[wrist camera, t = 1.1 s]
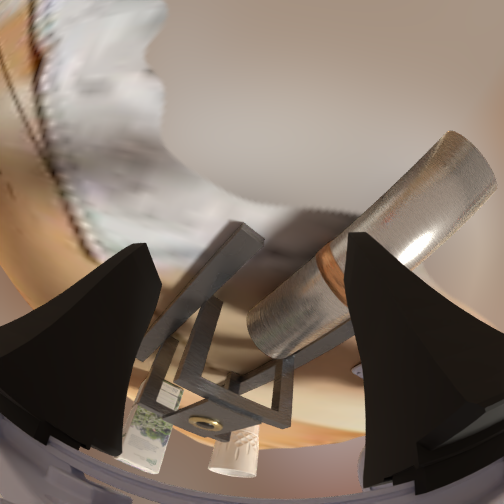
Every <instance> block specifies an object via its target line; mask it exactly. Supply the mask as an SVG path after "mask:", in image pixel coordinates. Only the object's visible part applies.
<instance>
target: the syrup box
mask: <svg viewBox="0 0 504 504" xmlns="http://www.w3.org/2000/svg"><path fill="white" fill-rule="evenodd" d="M146 379H147V378H146ZM146 379H145V380H144V381H143V382H142V383H141V385H140V388H139V390H138V393H137V396H136V398H135V401H134V403H133V406H132V408H131V411H130V413H129V416H128V418H127V421H126V423H125V425H124V428H123V432H122V454H121V455H119V456H117V457H114V456H113V458H114V459H116V460H118V461H121V462H123V463H125V464H127V465H130V466H132V467H135V468H137V469H139V470H142V471H145V472H148V473H150V474H157V473H158V472H159V470H160V467H161V464H162V460H163V457H164V453H165V450H166V447H167V443H168V440H169V437H170V433H171V430H172V427H173V424H171V423H168V422H166V421H164V420H162V419H161V418H162V417H160V416H158V415H156V414H154V413H152V412H150V411H148V410H146V409H145V408H143V407H141V406H139V405H137V404H136V403H137V400H138V398H139V395H140V393H141V391H142V388H143V386H144V383H145V381H146ZM183 392H184V390H183V389H181V388H179V387H177V386H175V385H173V384H171V383H169V382H167V381H165V380H164V381H163V384H162V386H161V389H160V392H159V394H158V397H157V400H156V401H157V402H159V403H160V404H162V405H164V406H166V407H168V408H171V409H173V410H175V411H176V410H178V408H179V404H180V401H181V398H182V395H183Z"/></svg>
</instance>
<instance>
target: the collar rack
mask: <svg viewBox="0 0 504 504" xmlns="http://www.w3.org/2000/svg"><path fill="white" fill-rule="evenodd" d="M264 240H265V239H264V238H263V237H262V236H260V235H259V234H258V233H257V232H255V231H254V230H253V229H251V228H250V227H249V226H248V225H246V224H245V223H243V224H242V225H241V226H240V227H239V228H238V229H237V230H236V231H235V232H234V234H233V235H232V236H231V237H230V238H229V239H228V240H227V241H226V242H225V243H224V244H223V246H222V247H221V248H220V249H219V250H218V251H217V252H216V253H215V254H214V256H213V257H212V258H211V259H210V260H209V261H208V262H207V263H206V264H205V266H204V267H203V268H202V269H201V270H200V271H199V272H198V273H197V275H196V276H195V277H194V278H193V279H192V280H191V281H190V282H189V284H188V285H187V286H186V287H185V288H184V289H183V290H182V291H181V293H180V294H179V295H178V296H177V297H176V298H175V299H174V301H173V302H172V303H171V304H170V305H169V306H168V308H167V309H166V310H165V311H164V312H163V313H162V314H161V316H160V317H159V318H158V319H157V320H156V321H155V323H154V324H153V325H152V326H151V327H150V328H149V330H148V331H147V332H146V333H145V335H144V337H143V340H142V342H141V345H140V347H139V350H138V352H137V355H136V358H137V359H138V360H140V361H142V362H143V361H144V360H145V359H147V358H148V357H149V356H150V355H151V354H152V353H153V352H154V351H155V350H156V349H157V348H158V347H159V346H160V345H161V346H160V348H159V351H158V353H157V355H156V358H155V360H154V362H153V365H152V367H151V369H150V372H149V374H148V376H147V379H146V381H145V383H144V386H143V388H142V391H141V393H140V395H139V398H138V400H137V403H136V404H137V405H139V406H141V407H143V408H145V409H146V410H148V411H150V412H152V413H154V414H156V415H158V416H160V417H162V418H161V419H162V420H164V421H166V422H168V423H171V424H173V425H175V426H177V427H180V428H182V429H184V430H187V431H189V432H192V433H194V434H197V435H199V436H202V437H204V438H205V437H210V438H213V439H215V440H218V441H221V442H224V443H225V442H229V441H230V436H231V432H232V431H236V430H240V429H244V428H248V427H251V426H255V425H258V424H261V423H262V422H263V423H266V424H269V425H272V426H274V427H277V428H280V429H285V428H288V427H291V415H292V398H293V377H294V369H296V368H298V367H300V366H302V365H304V364H306V363H307V362H309V361H311V360H313V359H315V358H317V357H318V356H320V355H322V354H324V353H325V352H327V351H329V350H331V349H332V348H334V347H336V346H337V345H339V344H341V343H342V342H344V341H346V340H347V339H349V338H351V337H352V336H354V335H355V333H354V329H353V326H352V322H351V318H348V319H347V320H345V321H344V322H342V323H341V324H339V325H338V326H336V327H335V328H333V329H332V330H330V331H329V332H327V333H325V334H324V335H322V336H321V337H319V338H318V339H316V340H314V341H313V342H311V343H309V344H308V345H306V346H305V347H303V348H301V349H300V350H298V351H296V352H294V353H293V354H291V355H289V356H288V357H286V358H283V359H273V360H271V361H270V362H268V363H266V364H264V365H262V366H261V367H259V368H257V369H255V370H253V371H251V372H249V373H247V374H245V375H244V376H240V375H238V374H236V373H234V372H230V373H228V374H227V378H226V382H225V385H224V386H222V387H221V386H219V385H217V384H215V383H213V382H211V381H209V380H207V379H205V378H203V377H201V375H202V372H203V368H204V365H205V361H206V358H207V355H208V351H209V348H210V345H211V341H212V338H213V335H214V331H215V328H216V325H217V321H218V318H219V315H220V311H221V308H222V305H223V302H222V301H221V300H219V299H218V298H216V297H215V296H213V294H214V293H215V292H216V291H217V290H218V289H219V288H221V287H222V286H223V285H224V284H225V283H226V282H227V281H228V280H229V279H230V278H231V277H232V276H233V275H234V274H235V273H236V272H237V271H238V270H239V269H240V268H241V267H242V266H243V265H244V264H245V263H246V262H247V261H248V260H250V259H251V258H252V257H253V256H254V255H255V254H256V253H257V252H258V251H259V250H260V249H261V248H262V247H263V246H264ZM200 307H201V308H200ZM199 308H200V310H199V313H198V316H197V318H196V321H195V324H194V326H193V329H192V331H191V334H190V337H189V339H188V342H187V345H186V348H185V350H184V353H183V356H182V358H181V361H180V364H179V367H178V369H177V372H176V375H175V378H174V381H173V382H174V383H176V384H177V385H179V386H181V387H183V388H185V389H187V390H189V391H191V392H193V393H195V394H197V395H199V396H201V397H203V398H205V399H203V400H201V401H199V402H196V403H194V404H191V405H189V406H187V407H184V408H182V409H179V410H176V411H175V410H173V409H171V408H168V407H166V406H164V405H162V404H160V403H159V402H157V401H156V400H157V397H158V394H159V392H160V389H161V386H162V384H163V381H164V378H165V376H166V373H167V370H168V368H169V365H170V363H171V360H172V358H173V355H174V352H175V350H176V347H177V345H178V342H179V341H178V340H176V339H174V338H173V337H171V335H172V334H173V333H174V332H175V331H176V330H177V329H178V328H179V327H180V326H181V325H182V324H183V323H184V322H185V321H186V320H187V319H188V318H189V317H190V316H191V315H192V314H193V313H195V312H196V311H197V310H198V309H199ZM272 380H274V387H273V397H272V406H271V409H270V408H267V407H265V406H263V405H260V404H258V403H256V402H253V401H251V400H249V399H246V398H244V397H242V396H240V395H241V394H243V393H246V392H248V391H250V390H253V389H255V388H257V387H259V386H261V385H263V384H266V383H268V382H270V381H272Z"/></svg>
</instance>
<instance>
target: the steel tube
mask: <svg viewBox="0 0 504 504" xmlns="http://www.w3.org/2000/svg"><path fill="white" fill-rule="evenodd" d="M496 190H497V182H496V179H495V176H494V173H493V172H492V169H491V168H490V166H489V164H488V163H487V161H486V159H485V158H484V157H483V155H482V154H481V153H480V152H479V150H478V149H477V148H476V147H475V146H474V145H473V144H472V143H471V142H470V141H468V140H467V139H466V138H465V137H463V136H462V135H460V134H459V133H457V132H455V131H448V132H446V133H445V135H443V137H442V138H441V139H440V140H439V141H438V142H437V143H436V144H435V145H434V146H433V147H432V148H431V149H430V150H429V151H428V152H427V153H426V154H425V155H424V156H423V157H422V158H421V159H420V160H419V161H418V162H417V163H416V164H415V165H414V166H413V167H412V168H411V169H410V170H409V171H408V172H407V173H406V174H405V175H403V177H401V178H400V179H399V180H398V181H397V182H396V183H395V184H394V185H393V186H392V187H391V188H390V189H389V190H388V191H387V192H386V193H385V194H384V195H383V196H381V197H380V198H379V199H378V200H377V201H376V202H375V203H374V204H373V205H372V206H371V207H370V208H368V209H367V210H366V211H365V212H364V213H363V214H362V215H361V216H360V217H359V218H358V219H356V220H355V221H354V222H353V223H352V224H351V225H350V226H349V227H348V228H346V229H345V230H344V231H343V232H342V233H341V234H340V235H339V236H337V237H336V238H335V239H334V240H333V241H330V242H328V243H327V244H326V245H325V246H324V247H323V248H322V249H320V250H319V251H318V252H317V253H316V256H314V257H313V258H312V259H311V260H310V261H309V262H307V263H306V264H305V265H304V266H303V267H302V268H300V269H299V270H298V271H297V272H296V273H294V274H293V275H292V276H291V277H290V278H289V279H287V280H286V281H285V282H284V283H283V284H281V285H280V286H279V287H278V288H276V289H275V290H274V291H273V292H272V293H270V294H269V295H268V296H267V297H265V298H264V299H263V300H262V301H260V302H259V303H258V304H257V305H256V306H254V307H253V308H252V309H251V310H250V311H249V312H248V315H247V328H248V332H249V334H250V336H251V338H252V340H253V342H254V343H255V345H256V346H257V347H258V348H259V349H260V350H261V351H262V352H263V353H265V354H266V355H268V356H269V357H272V358H275V359H283V358H286V357H288V356H289V355H291V354H293V353H294V352H296V351H298V350H300V349H301V348H303V347H305V346H306V345H308V344H309V343H311V342H313V341H314V340H316V339H318V338H319V337H321V336H322V335H324V334H325V333H327V332H329V331H330V330H332V329H333V328H335V327H336V326H338V325H339V324H341V323H342V322H344V321H345V320H347V319H348V318H350V314H349V310H348V306H347V301H346V294H345V287H344V280H343V279H344V271H345V262H346V252H347V242H348V232H367V233H368V234H369V235H370V236H372V237H373V238H374V239H375V240H376V241H377V242H379V243H380V244H381V245H382V246H383V247H384V248H385V249H386V250H388V251H389V252H390V253H391V254H392V255H393V256H394V257H395V258H397V259H398V260H399V261H400V262H401V263H402V264H403V265H405V266H406V267H407V268H408V269H409V270H410V271H412V270H414V269H415V268H416V267H417V266H419V265H420V264H421V263H422V262H423V261H424V260H426V259H427V258H428V257H429V256H430V255H431V254H432V253H434V252H435V251H436V250H437V249H438V248H439V247H440V246H441V245H443V244H444V242H446V241H447V240H448V239H449V238H450V237H451V236H452V235H453V234H455V233H456V232H457V231H458V230H459V229H460V228H461V227H462V226H463V225H464V224H465V223H466V222H467V221H468V220H469V219H470V218H471V217H472V216H473V215H474V214H475V213H476V212H477V211H478V210H479V209H480V207H482V206H483V204H484V203H485V202H486V201H487V200H488V199H489V198H490V197H491V196H492V194H493V193H494V192H495V191H496Z"/></svg>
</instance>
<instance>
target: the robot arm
mask: <svg viewBox="0 0 504 504" xmlns="http://www.w3.org/2000/svg"><path fill="white" fill-rule="evenodd" d="M343 280H344V287H345V294H346V301H347V306H348V310H349V314H350V318H351V322H352V326H353V329H354V333H355V337H356V341H357V346H358V350H359V354H360V359H361V364H359V365H358V366H356V367H354V368H353V369H352V373H354V374H355V375H357V376H359V377H361V378H362V379H363V381H364V393H365V413H366V444H365V447H364V448H363V450H362V451H361V453H360V455H359V459H358V478H359V482H360V485H361V488H362V491H363V492H362V493H357V494H350V495H342V496H334V497H324V498H309V499H261V498H247V497H236V496H228V495H220V494H213V493H207V492H202V491H196V490H191V489H186V488H182V487H178V486H173V485H169V484H165V483H162V482H158V481H155V480H151V479H148V478H145V477H142V476H139V475H135V474H133V473H130V472H127V471H124V470H122V469H119V468H116V467H114V466H111V465H109V464H106V463H104V462H102V461H99V460H97V459H95V458H93V457H90V456H88V455H86V454H84V453H82V452H80V451H79V448H80V446H81V447H83V448H85V449H87V450H89V449H90V447H92V448H95V449H97V450H99V451H101V452H104V453H106V454H109V455H111V456H114V457H117V456H119V455H121V454H122V432H123V418H124V409H125V402H126V396H127V390H128V385H129V380H130V376H131V372H132V368H133V364H134V361H135V358H136V355H137V352H138V350H139V347H140V345H141V342H142V340H143V337H144V335H145V333H146V330H147V328H148V325H149V323H150V321H151V318H152V316H153V313H154V311H155V308H156V305H157V302H158V298H159V295H160V291H161V287H162V283H161V281H160V278H159V276H158V273H157V271H156V268H155V265H154V263H153V260H152V258H151V255H150V252H149V250H148V247H147V244H146V243H135V244H131V245H129V246H128V247H126V248H124V249H123V250H121V251H120V252H118V253H117V254H115V255H114V256H112V257H111V258H109V259H108V260H107V261H105V262H104V263H103V264H101V265H100V266H99V267H97V268H96V269H94V270H93V271H92V272H90V273H89V274H88V275H86V276H85V277H84V278H82V279H81V280H79V281H78V282H77V283H75V284H74V285H73V286H71V287H70V288H68V289H67V290H66V291H64V292H63V293H61V294H60V295H58V296H57V297H55V298H53V299H52V300H50V301H49V302H47V303H46V304H44V305H42V306H40V307H39V308H37V309H35V310H33V311H31V312H30V313H28V314H26V315H24V316H23V317H20V318H18V319H16V320H14V321H12V322H10V323H8V324H5V325H3V326H0V493H1V495H2V497H3V499H2V498H0V504H132V501H133V500H132V499H131V497H129V496H127V495H125V494H123V493H121V492H118V491H116V490H114V489H111V488H109V487H106V486H103V485H100V484H98V483H95V482H92V481H90V480H87V479H86V478H85V476H84V473H86V474H87V475H89V476H92V477H94V478H96V479H98V480H100V481H102V482H104V483H107V484H109V485H112V486H113V487H116V488H118V489H121V490H123V491H126V492H128V493H131V494H134V495H137V496H139V497H142V498H146V499H148V500H151V501H155V502H158V503H161V504H504V333H502V332H500V331H498V330H496V329H494V328H492V327H491V326H489V325H487V324H485V323H484V322H482V321H480V320H478V319H477V318H475V317H474V316H472V315H470V314H469V313H467V312H466V311H464V310H462V309H461V308H459V307H458V306H456V305H455V304H453V303H452V302H451V301H449V300H448V299H446V298H445V297H444V296H442V295H441V294H440V293H438V292H437V291H435V290H434V289H433V288H431V287H430V286H429V285H428V284H426V283H425V282H424V281H423V280H421V279H420V278H419V277H418V276H417V275H415V274H414V273H413V272H412V271H410V270H409V269H408V268H407V267H406V266H405V265H403V264H402V263H401V262H400V261H399V260H398V259H397V258H395V257H394V256H393V255H392V254H391V253H390V252H389V251H388V250H386V249H385V248H384V247H383V246H382V245H381V244H380V243H379V242H377V241H376V240H375V239H374V238H373V237H372V236H370V235H369V234H368V233H367V232H348V242H347V252H346V262H345V271H344V279H343ZM83 472H84V473H83Z"/></svg>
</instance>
